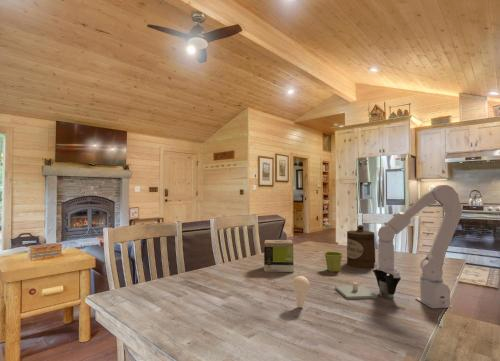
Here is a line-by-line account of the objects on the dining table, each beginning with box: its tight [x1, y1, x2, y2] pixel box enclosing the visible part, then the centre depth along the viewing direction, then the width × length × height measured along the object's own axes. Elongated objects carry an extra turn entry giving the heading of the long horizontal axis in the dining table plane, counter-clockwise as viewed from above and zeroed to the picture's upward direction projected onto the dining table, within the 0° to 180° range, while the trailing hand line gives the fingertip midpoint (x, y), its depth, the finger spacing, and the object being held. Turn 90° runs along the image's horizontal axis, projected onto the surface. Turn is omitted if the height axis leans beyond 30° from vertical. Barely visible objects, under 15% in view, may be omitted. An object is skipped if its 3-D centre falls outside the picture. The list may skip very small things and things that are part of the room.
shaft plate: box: [334, 281, 378, 300], centre depth 119 cm, size 12×12×4 cm
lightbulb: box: [291, 275, 310, 309], centre depth 105 cm, size 6×6×11 cm
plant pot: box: [323, 251, 344, 273], centre depth 153 cm, size 9×9×9 cm
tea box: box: [263, 239, 295, 273], centre depth 154 cm, size 15×10×15 cm
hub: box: [378, 279, 395, 299], centre depth 116 cm, size 5×5×6 cm
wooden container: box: [346, 224, 376, 269], centre depth 165 cm, size 15×15×22 cm
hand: (386, 291), depth 116 cm, fingers open, 6 cm apart
